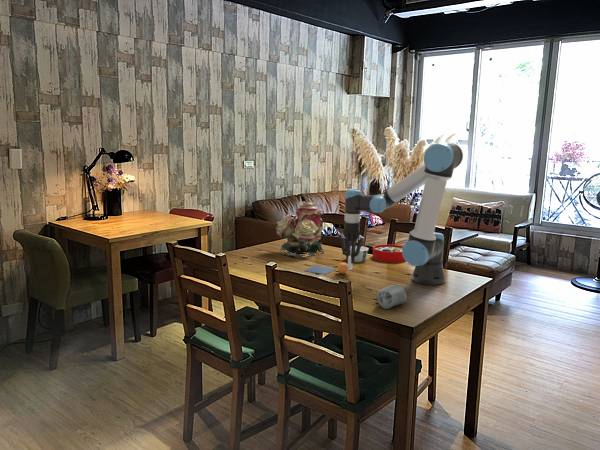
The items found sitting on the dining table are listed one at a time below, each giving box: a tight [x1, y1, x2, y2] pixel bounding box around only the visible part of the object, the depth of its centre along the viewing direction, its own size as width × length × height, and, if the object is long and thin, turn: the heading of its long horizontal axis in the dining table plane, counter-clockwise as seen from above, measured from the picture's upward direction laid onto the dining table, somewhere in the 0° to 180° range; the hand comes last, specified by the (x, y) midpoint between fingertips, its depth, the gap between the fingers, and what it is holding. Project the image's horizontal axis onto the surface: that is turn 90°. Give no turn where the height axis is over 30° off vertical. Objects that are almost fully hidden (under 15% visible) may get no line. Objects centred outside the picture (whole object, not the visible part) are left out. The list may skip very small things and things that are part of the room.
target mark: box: [304, 265, 336, 275], centre depth 255 cm, size 12×12×1 cm
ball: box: [336, 261, 349, 275], centre depth 249 cm, size 6×6×6 cm
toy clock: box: [372, 244, 406, 263], centre depth 282 cm, size 20×6×20 cm
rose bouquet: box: [275, 200, 325, 259], centre depth 289 cm, size 26×29×30 cm
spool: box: [376, 284, 408, 310], centre depth 202 cm, size 14×10×10 cm
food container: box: [350, 245, 369, 263], centre depth 277 cm, size 12×12×6 cm
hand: (349, 269), depth 248 cm, fingers closed
